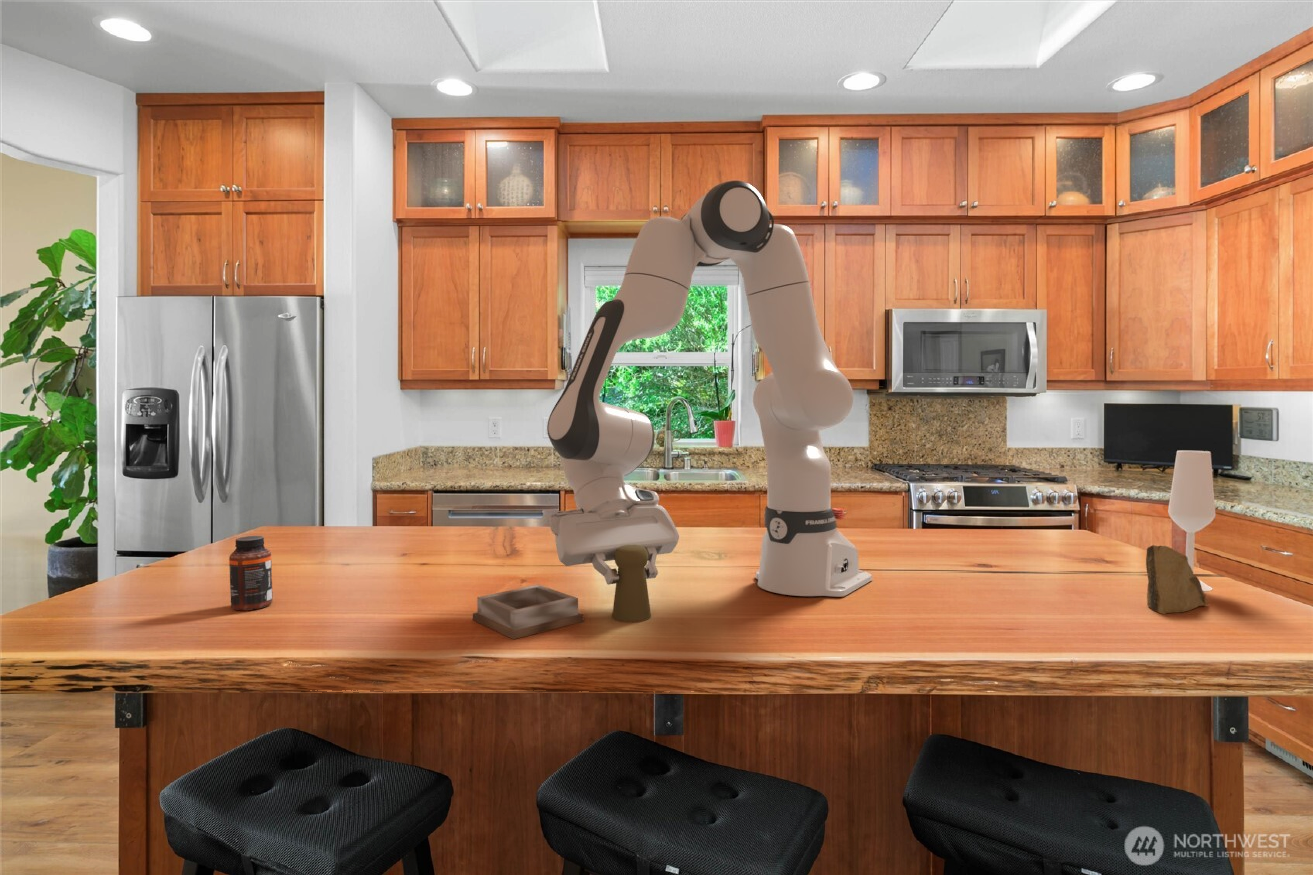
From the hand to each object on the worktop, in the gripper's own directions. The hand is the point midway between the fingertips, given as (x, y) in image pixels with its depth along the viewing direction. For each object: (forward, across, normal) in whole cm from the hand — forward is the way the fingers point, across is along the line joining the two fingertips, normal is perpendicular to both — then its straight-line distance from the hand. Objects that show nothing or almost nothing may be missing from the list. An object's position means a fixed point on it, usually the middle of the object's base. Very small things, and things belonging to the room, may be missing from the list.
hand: (633, 579), depth 108 cm
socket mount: (0, -15, +9) cm, 17 cm away
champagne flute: (+28, +94, -19) cm, 100 cm away
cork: (+4, 0, +5) cm, 6 cm away
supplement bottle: (-21, -51, +30) cm, 63 cm away
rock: (+32, +78, -23) cm, 87 cm away
